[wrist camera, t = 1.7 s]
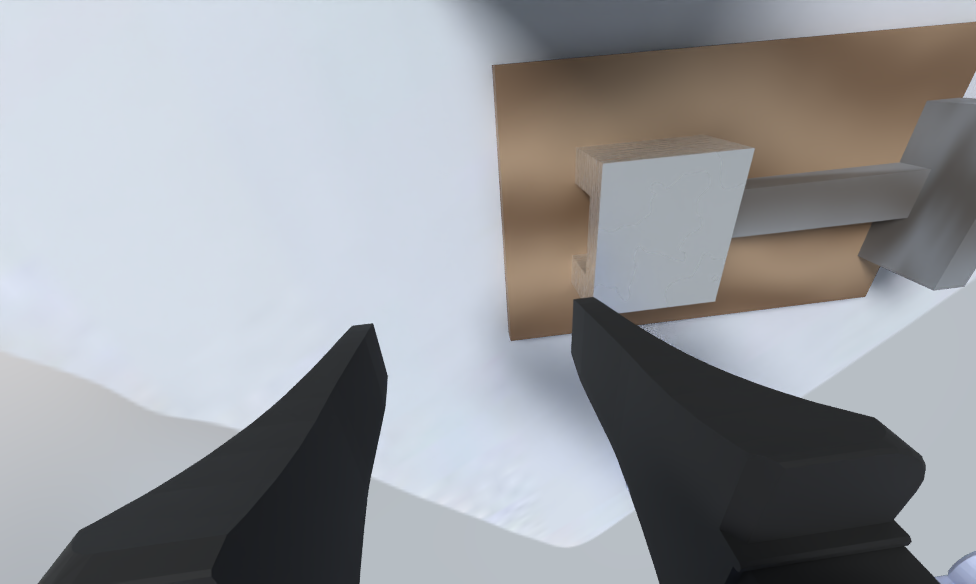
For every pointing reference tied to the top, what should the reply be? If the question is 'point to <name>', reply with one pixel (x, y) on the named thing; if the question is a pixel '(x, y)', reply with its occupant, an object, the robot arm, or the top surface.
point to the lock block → (658, 219)
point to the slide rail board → (755, 163)
